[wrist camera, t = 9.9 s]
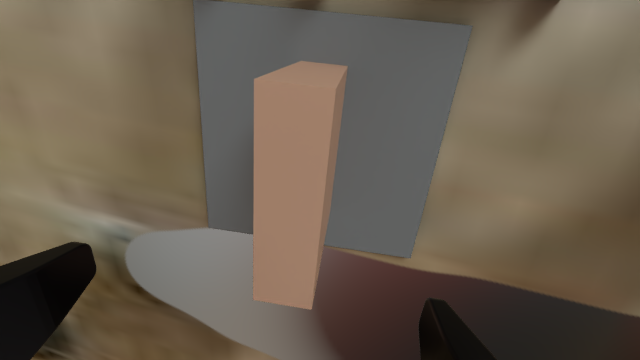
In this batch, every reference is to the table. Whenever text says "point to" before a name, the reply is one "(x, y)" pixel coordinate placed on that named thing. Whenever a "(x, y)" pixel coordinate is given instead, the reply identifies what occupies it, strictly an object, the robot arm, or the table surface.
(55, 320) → the robot arm
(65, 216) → the table surface
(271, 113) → the terracotta board
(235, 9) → the charcoal mat
